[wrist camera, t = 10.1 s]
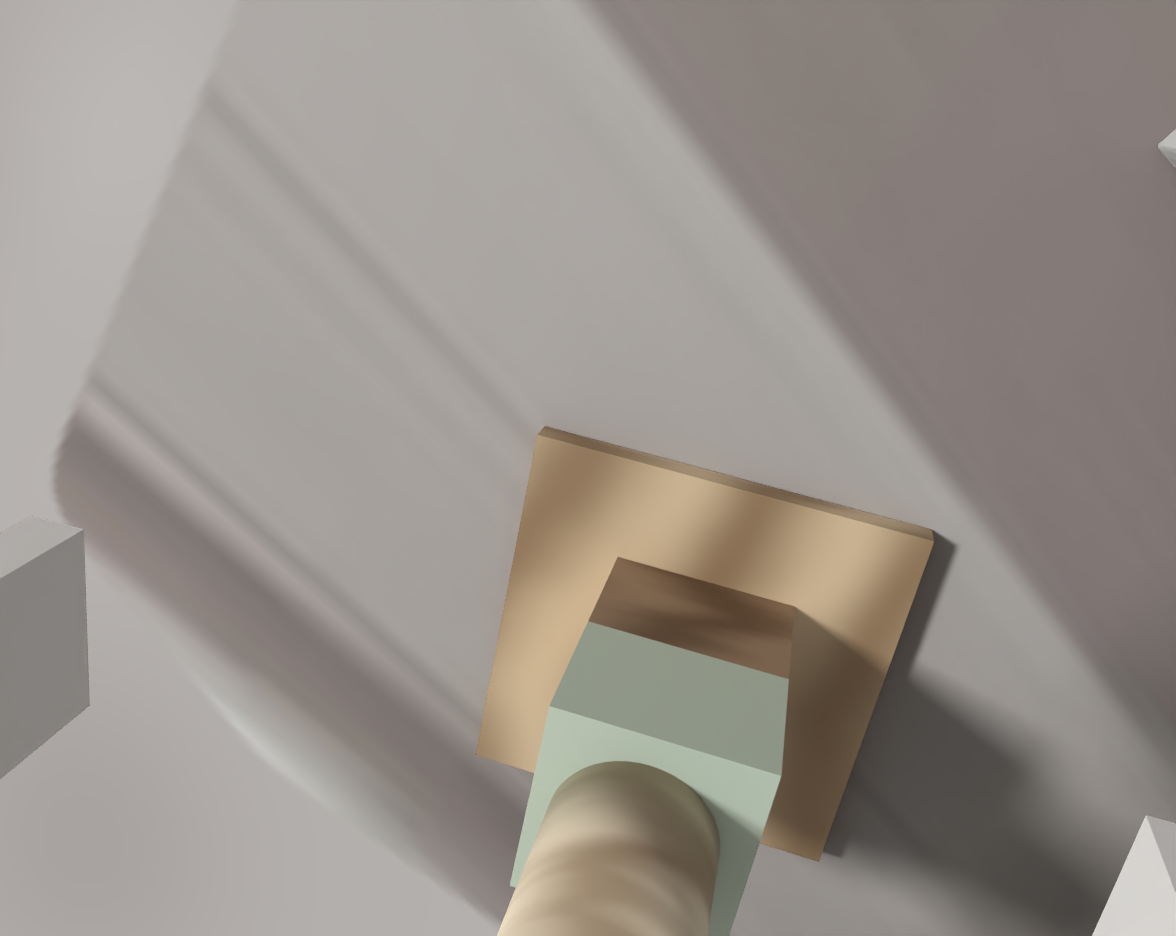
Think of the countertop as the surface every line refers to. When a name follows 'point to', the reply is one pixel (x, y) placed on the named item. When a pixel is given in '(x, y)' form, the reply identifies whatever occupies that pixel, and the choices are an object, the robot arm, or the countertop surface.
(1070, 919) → the countertop surface
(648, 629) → the walnut base block
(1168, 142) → the skincare box
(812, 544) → the light wood square board
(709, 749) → the sage mid block
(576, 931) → the oak cylinder
